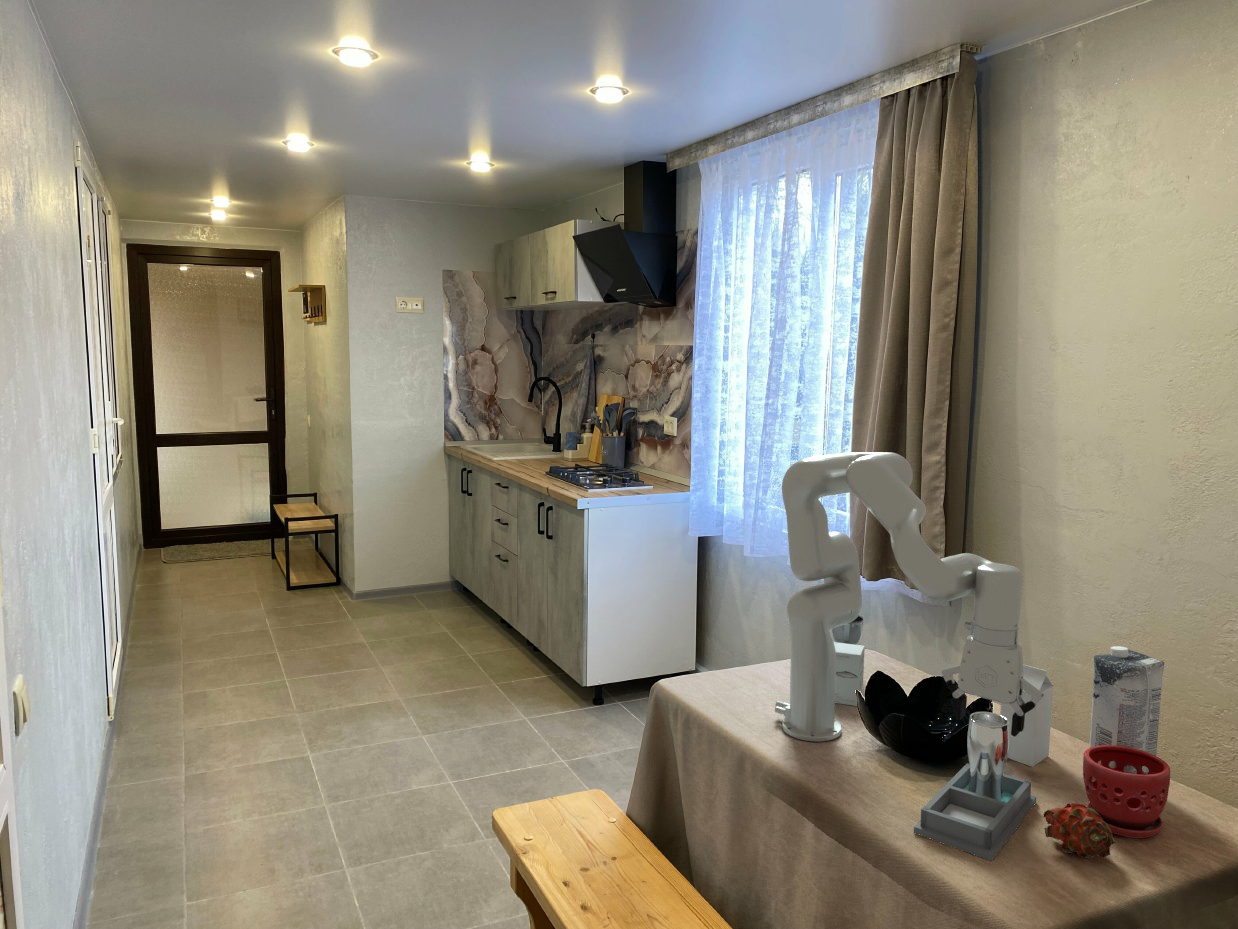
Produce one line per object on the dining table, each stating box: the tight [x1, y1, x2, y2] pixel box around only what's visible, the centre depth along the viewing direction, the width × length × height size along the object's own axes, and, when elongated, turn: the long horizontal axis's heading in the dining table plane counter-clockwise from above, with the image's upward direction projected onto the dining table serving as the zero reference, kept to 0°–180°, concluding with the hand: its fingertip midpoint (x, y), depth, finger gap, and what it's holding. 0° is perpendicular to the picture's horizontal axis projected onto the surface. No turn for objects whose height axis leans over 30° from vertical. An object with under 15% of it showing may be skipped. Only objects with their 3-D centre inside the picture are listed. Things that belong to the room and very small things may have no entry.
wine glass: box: [830, 614, 864, 645], centre depth 225 cm, size 8×8×15 cm
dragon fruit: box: [1043, 801, 1116, 859], centre depth 148 cm, size 8×8×12 cm
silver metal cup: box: [966, 711, 1009, 802], centre depth 162 cm, size 7×7×15 cm
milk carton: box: [999, 663, 1054, 767], centre depth 181 cm, size 7×7×19 cm
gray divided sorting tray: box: [913, 762, 1037, 862], centre depth 158 cm, size 13×24×4 cm, turn 140°
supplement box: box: [833, 641, 866, 707], centre depth 211 cm, size 7×7×13 cm
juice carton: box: [1088, 645, 1165, 780], centre depth 166 cm, size 9×10×27 cm
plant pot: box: [1082, 745, 1171, 839], centre depth 156 cm, size 13×13×12 cm
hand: (987, 725), depth 161 cm, fingers open, 9 cm apart
